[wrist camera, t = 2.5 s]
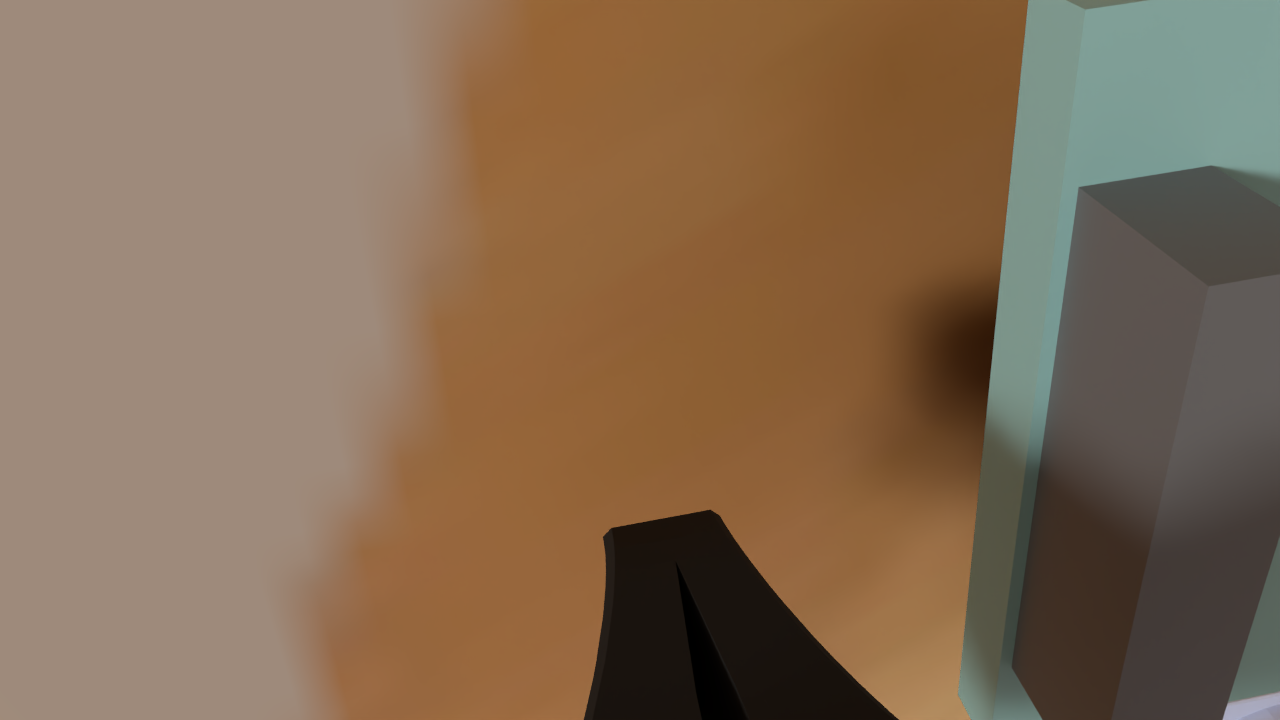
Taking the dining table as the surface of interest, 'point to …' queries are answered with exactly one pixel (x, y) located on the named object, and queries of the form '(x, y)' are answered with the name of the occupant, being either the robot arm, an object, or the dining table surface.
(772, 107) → the dining table surface
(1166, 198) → the lid
